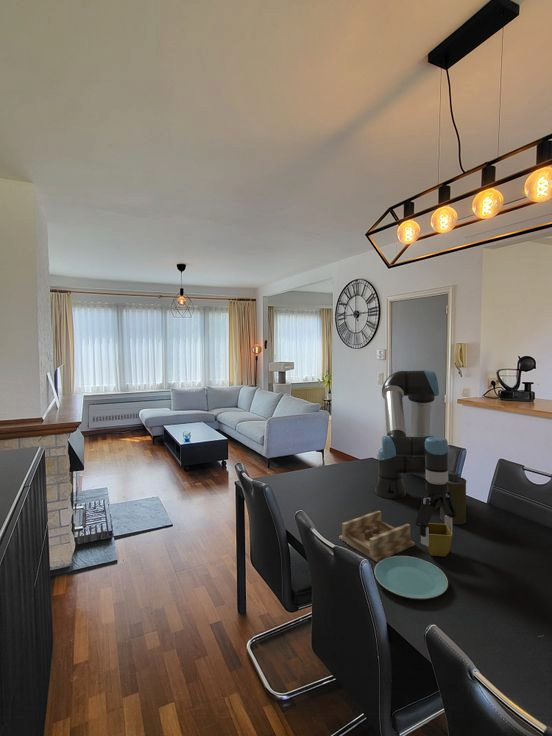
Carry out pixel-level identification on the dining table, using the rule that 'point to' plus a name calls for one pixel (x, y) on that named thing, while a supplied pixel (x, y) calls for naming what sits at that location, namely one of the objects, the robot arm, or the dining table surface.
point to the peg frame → (376, 536)
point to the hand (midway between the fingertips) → (436, 539)
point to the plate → (411, 577)
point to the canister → (457, 497)
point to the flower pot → (439, 539)
